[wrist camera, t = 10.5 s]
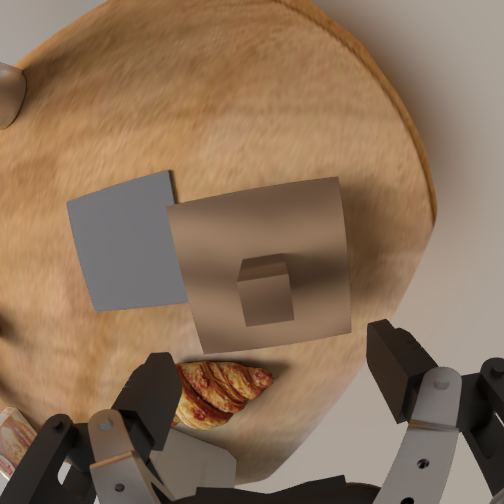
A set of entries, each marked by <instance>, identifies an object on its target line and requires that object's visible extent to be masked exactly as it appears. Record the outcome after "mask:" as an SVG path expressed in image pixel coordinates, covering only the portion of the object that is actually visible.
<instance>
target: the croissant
mask: <svg viewBox="0 0 504 504" xmlns="http://www.w3.org/2000/svg"><path fill="white" fill-rule="evenodd" d="M175 366H176V369H177V371H178V374H179V376H180V379H181V381H182V387H183V390H182V395H181V398H180V401H179V404H178V407H177V410H176V413H175V416H174V419H173V422H172V425H171V426H175V425H177V423H179V422H182V423H184V424H186V425H187V426H189V427H191V428H194V429H202V430H204V431H206V430H210V429H212V428H214V427H218V426H221V425H223V424H225V423H227V422H228V421H229V419H230V418H231V417H232V416H233V414H234V413H236V412H239V411H241V410H242V409H244V407H245V405H246V404H247V401H248V400H249V399H250V400H251V399H255V398H257V397H258V396H260V395H261V394H262V393H263V391H264V390H265V389H266V388H267V387H268V386H269V385H271V384H273V377H272V374H270V373H269V372H267V371H266V370H265V369H262V368H252V367H244V366H242V365H239V364H236V363H232V362H221V363H214V362H209V361H201V362H193V363H179V364H175Z"/></svg>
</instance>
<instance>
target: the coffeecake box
mask: <svg viewBox="0 0 504 504" xmlns="http://www.w3.org/2000/svg"><path fill="white" fill-rule="evenodd" d="M36 436H37V433H36V431H35V430H34V429H33V428H32V427H31V425H30V424H29V423H28V422H27V421H26V419H25V418H24V417H23V416H22V414H21V413H20V412H19V410H18V409H17V408H14V407H9V406H8V407H7V408H6V409H5V410H4V411H3V412H2V413H1V414H0V473H1V474H2V475H3V476H4V477H5V478H7V479H8V480H10V478H11V476H12V475H13V473H14V471H15V469H16V468H17V466H18V464H19V463H20V461H21V459H22V458H23V456H24V455H25V453H26V451H27V450H28V448H29V447H30V445H31V443H32V442H33V440H34V439H35V437H36Z"/></svg>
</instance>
